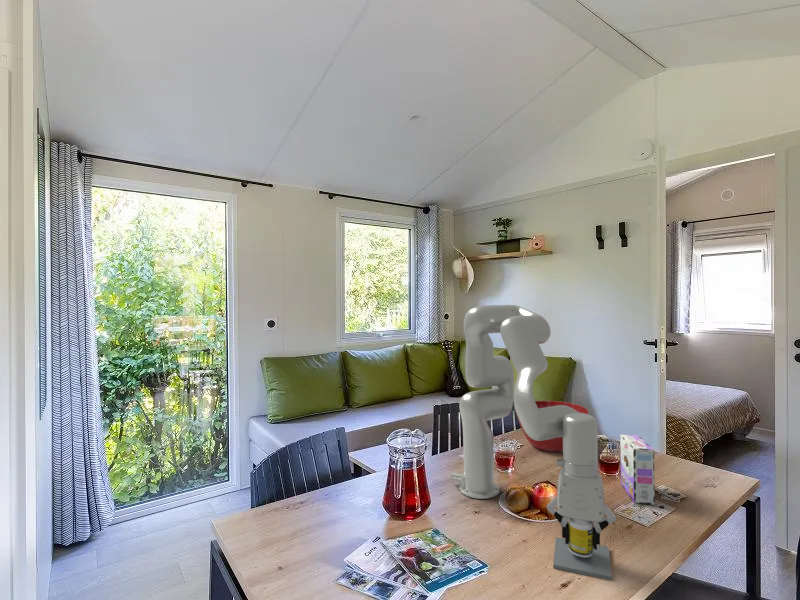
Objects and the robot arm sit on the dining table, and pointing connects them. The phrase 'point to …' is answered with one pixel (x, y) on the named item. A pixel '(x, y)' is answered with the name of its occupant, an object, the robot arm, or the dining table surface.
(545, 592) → the dining table surface
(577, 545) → the supplement bottle
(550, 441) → the mixing bowl
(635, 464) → the candy box
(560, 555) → the slate coaster
